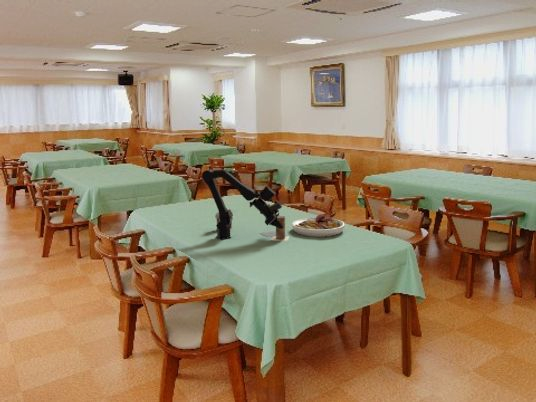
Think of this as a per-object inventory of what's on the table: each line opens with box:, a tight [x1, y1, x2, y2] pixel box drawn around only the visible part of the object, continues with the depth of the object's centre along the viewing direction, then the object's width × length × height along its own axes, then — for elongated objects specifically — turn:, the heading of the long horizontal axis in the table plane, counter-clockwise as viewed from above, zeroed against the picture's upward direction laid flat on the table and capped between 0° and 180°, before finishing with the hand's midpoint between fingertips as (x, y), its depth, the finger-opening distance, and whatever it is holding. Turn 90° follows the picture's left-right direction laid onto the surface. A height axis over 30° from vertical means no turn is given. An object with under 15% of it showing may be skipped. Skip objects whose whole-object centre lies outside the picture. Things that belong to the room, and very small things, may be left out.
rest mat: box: [259, 231, 276, 238], centre depth 278 cm, size 9×9×1 cm
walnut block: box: [275, 215, 286, 240], centre depth 268 cm, size 5×5×12 cm
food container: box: [214, 211, 234, 230], centre depth 292 cm, size 12×6×10 cm, turn 141°
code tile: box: [271, 235, 290, 242], centre depth 269 cm, size 9×9×1 cm
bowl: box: [291, 213, 345, 238], centre depth 284 cm, size 30×30×8 cm
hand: (283, 227), depth 268 cm, fingers closed on walnut block, 5 cm apart
